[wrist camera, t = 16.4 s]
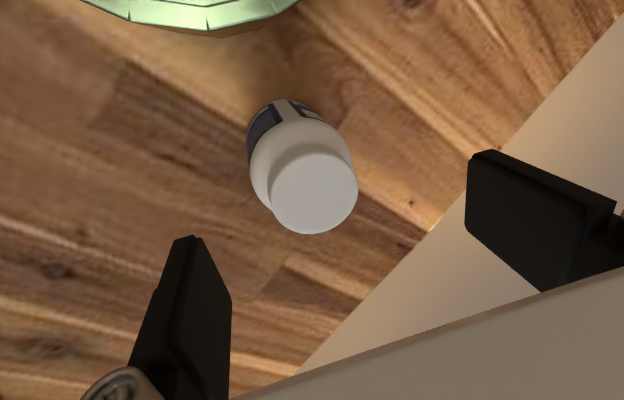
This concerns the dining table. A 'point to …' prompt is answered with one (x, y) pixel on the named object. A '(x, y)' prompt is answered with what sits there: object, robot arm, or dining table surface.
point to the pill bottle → (300, 167)
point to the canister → (198, 14)
